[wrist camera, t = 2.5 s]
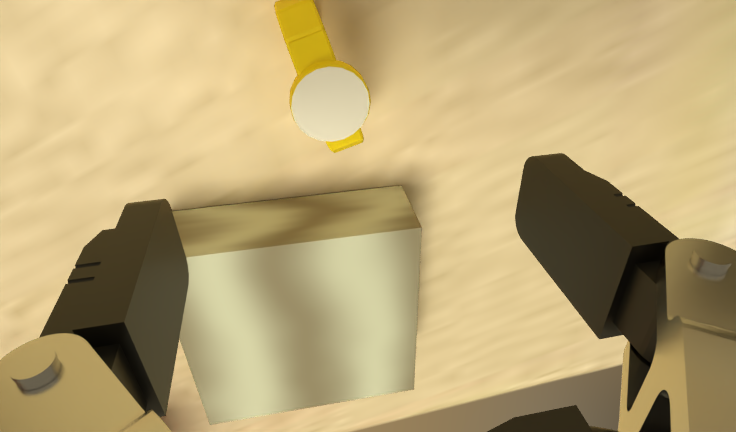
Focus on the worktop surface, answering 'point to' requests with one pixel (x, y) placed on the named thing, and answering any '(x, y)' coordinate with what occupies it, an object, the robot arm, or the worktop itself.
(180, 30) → the worktop surface
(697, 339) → the robot arm
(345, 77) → the watch
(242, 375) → the block
